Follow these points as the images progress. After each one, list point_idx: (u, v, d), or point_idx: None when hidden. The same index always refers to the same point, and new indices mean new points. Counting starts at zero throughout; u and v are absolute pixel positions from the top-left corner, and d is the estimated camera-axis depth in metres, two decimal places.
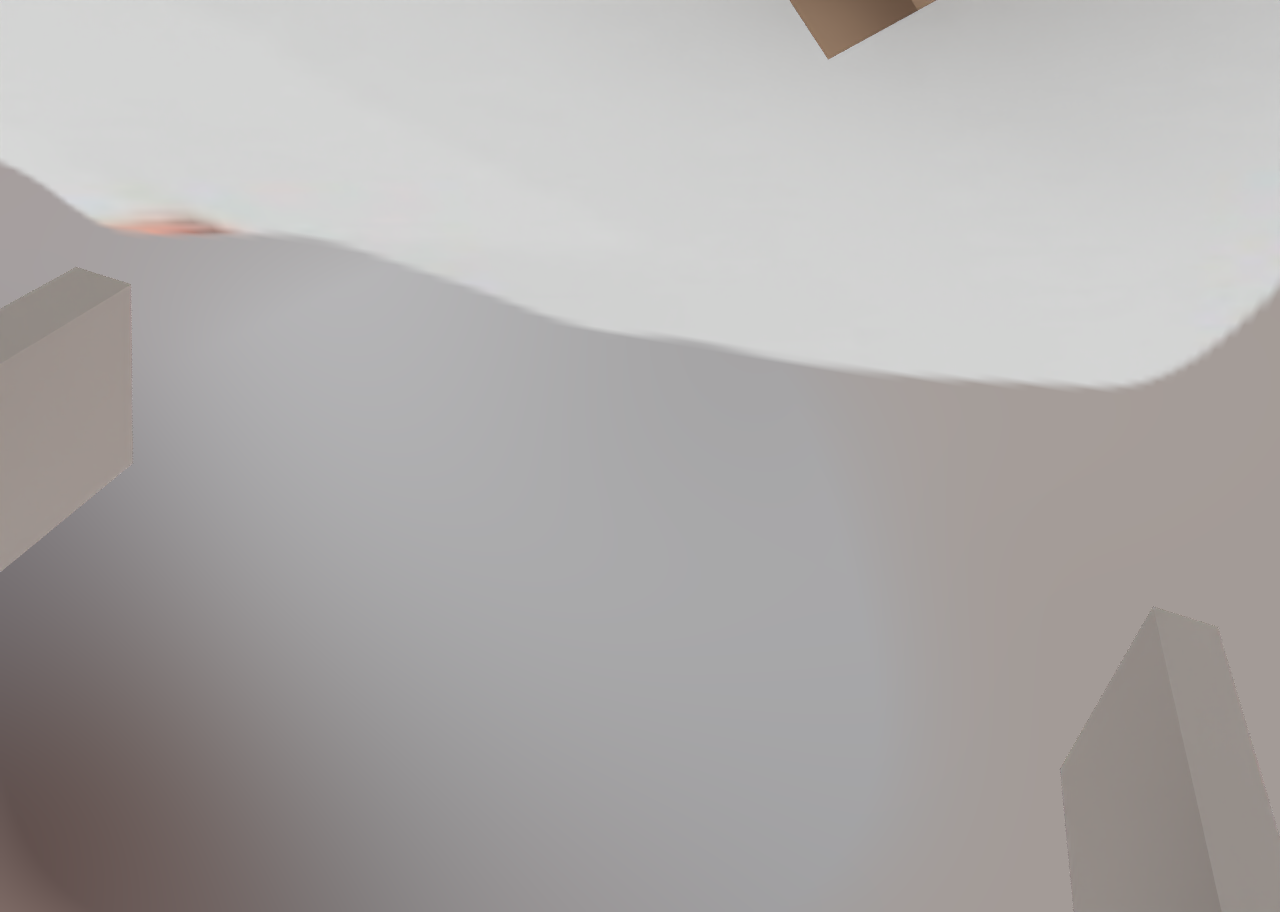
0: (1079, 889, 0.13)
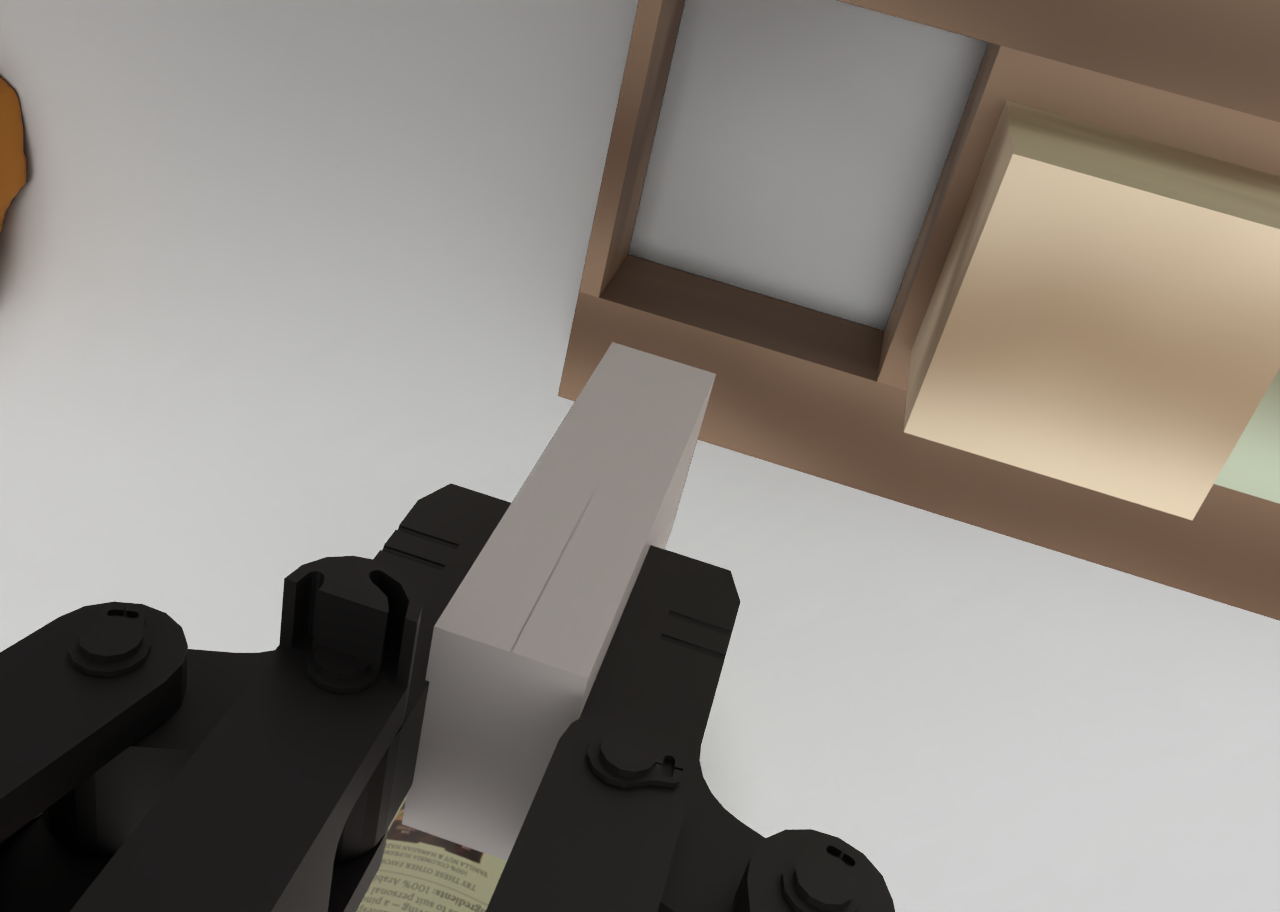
0: None
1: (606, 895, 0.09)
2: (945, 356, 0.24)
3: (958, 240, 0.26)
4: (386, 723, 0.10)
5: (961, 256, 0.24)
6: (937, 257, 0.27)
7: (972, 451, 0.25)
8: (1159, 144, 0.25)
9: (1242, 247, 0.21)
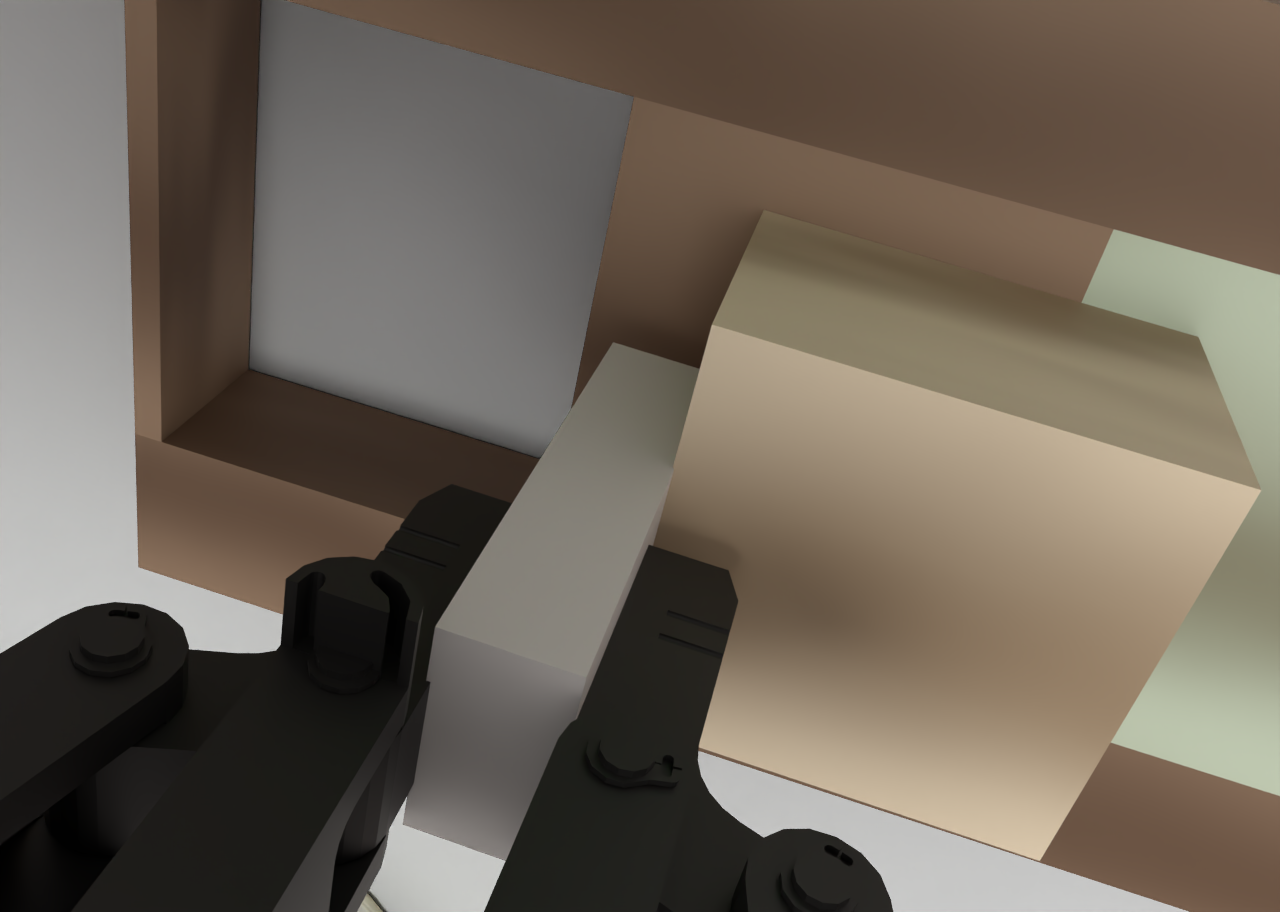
0: None
1: (605, 894, 0.09)
2: None
3: None
4: (387, 724, 0.10)
5: None
6: None
7: (707, 747, 0.16)
8: (991, 279, 0.16)
9: (1089, 481, 0.13)
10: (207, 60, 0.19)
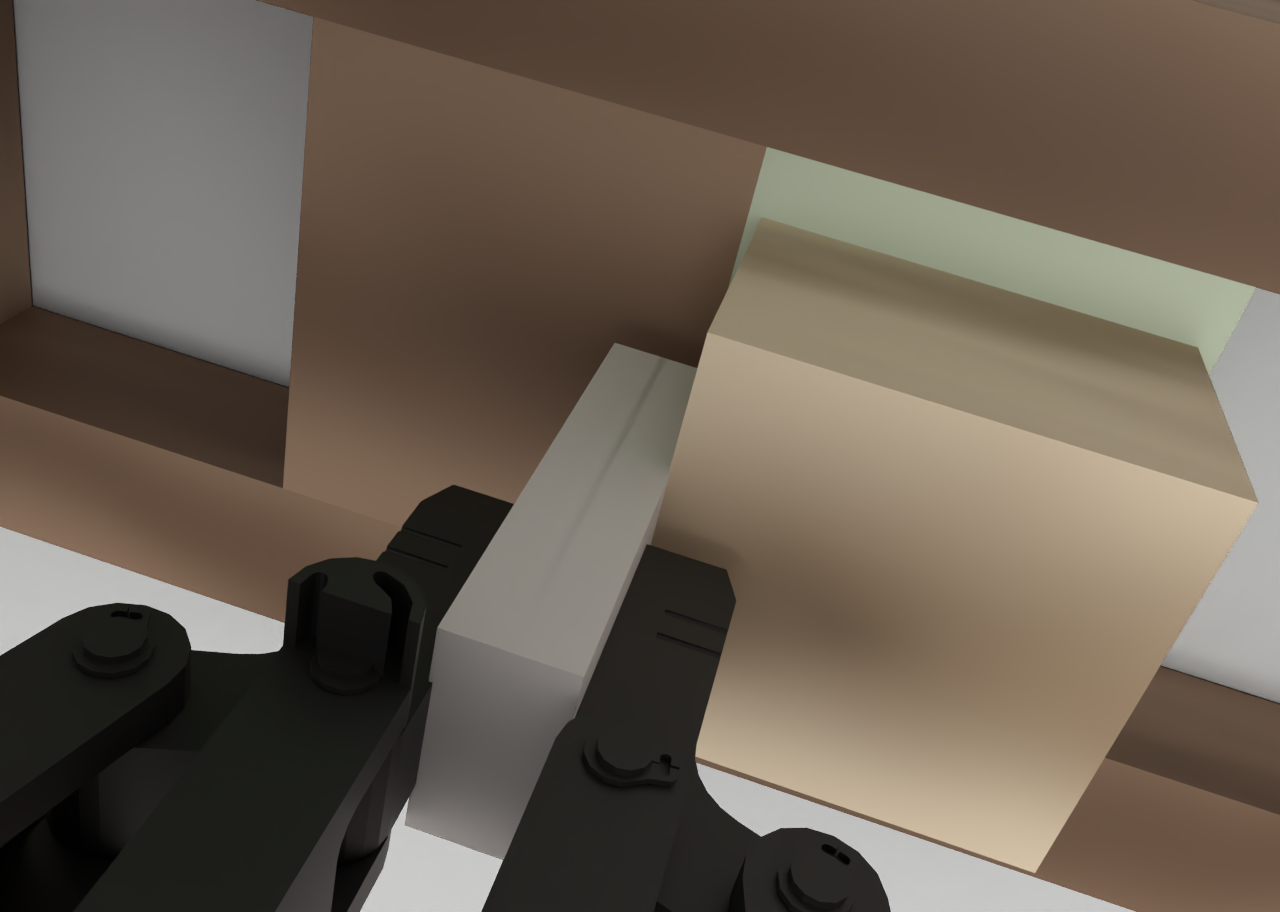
0: None
1: (602, 894, 0.09)
2: None
3: None
4: (389, 724, 0.10)
5: None
6: (311, 321, 0.19)
7: (701, 756, 0.16)
8: (990, 288, 0.16)
9: (1086, 492, 0.13)
10: None
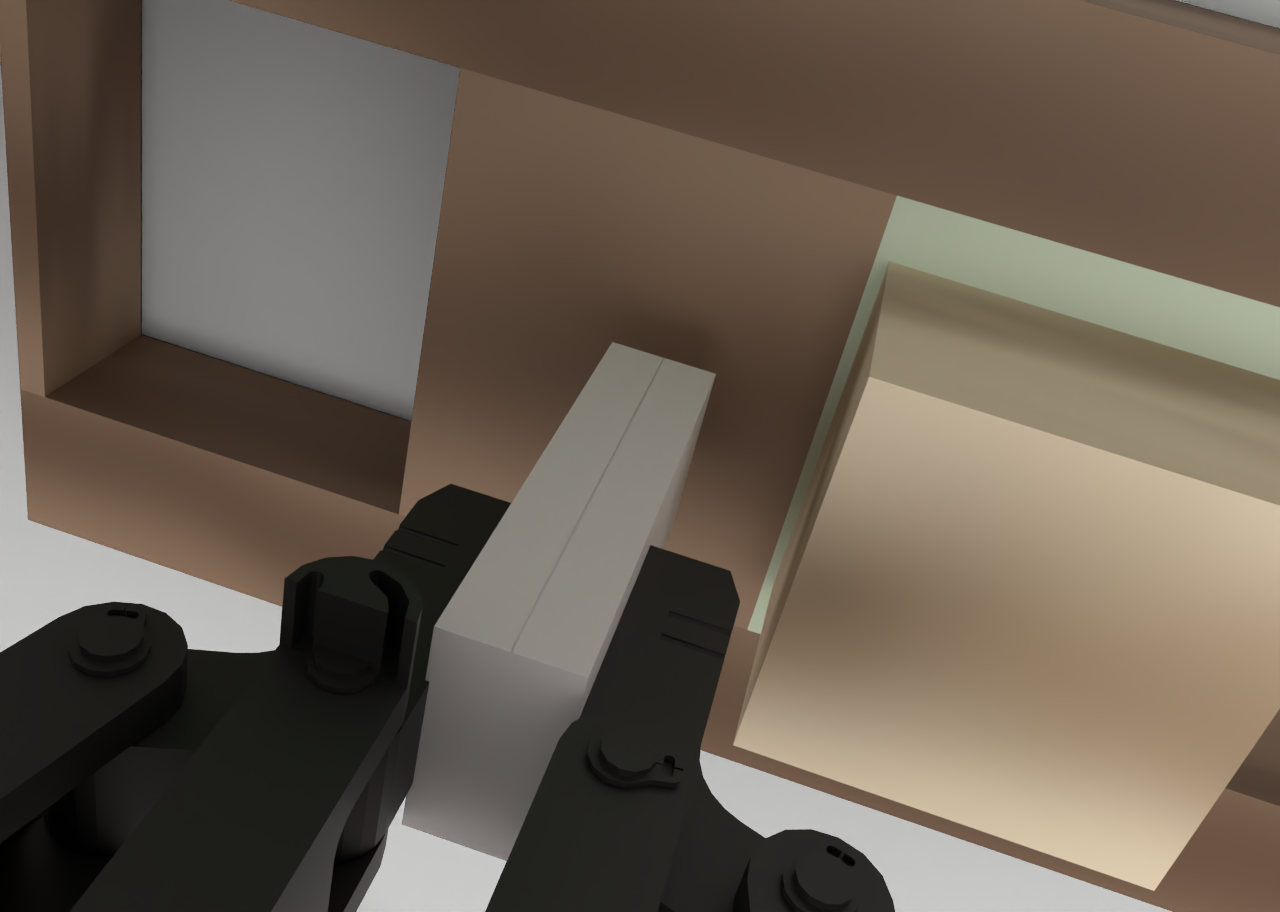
0: None
1: (606, 895, 0.09)
2: (786, 650, 0.16)
3: (823, 455, 0.18)
4: (386, 723, 0.10)
5: (816, 494, 0.17)
6: (439, 355, 0.20)
7: (832, 777, 0.17)
8: (1109, 330, 0.17)
9: (1227, 530, 0.14)
10: (83, 33, 0.20)
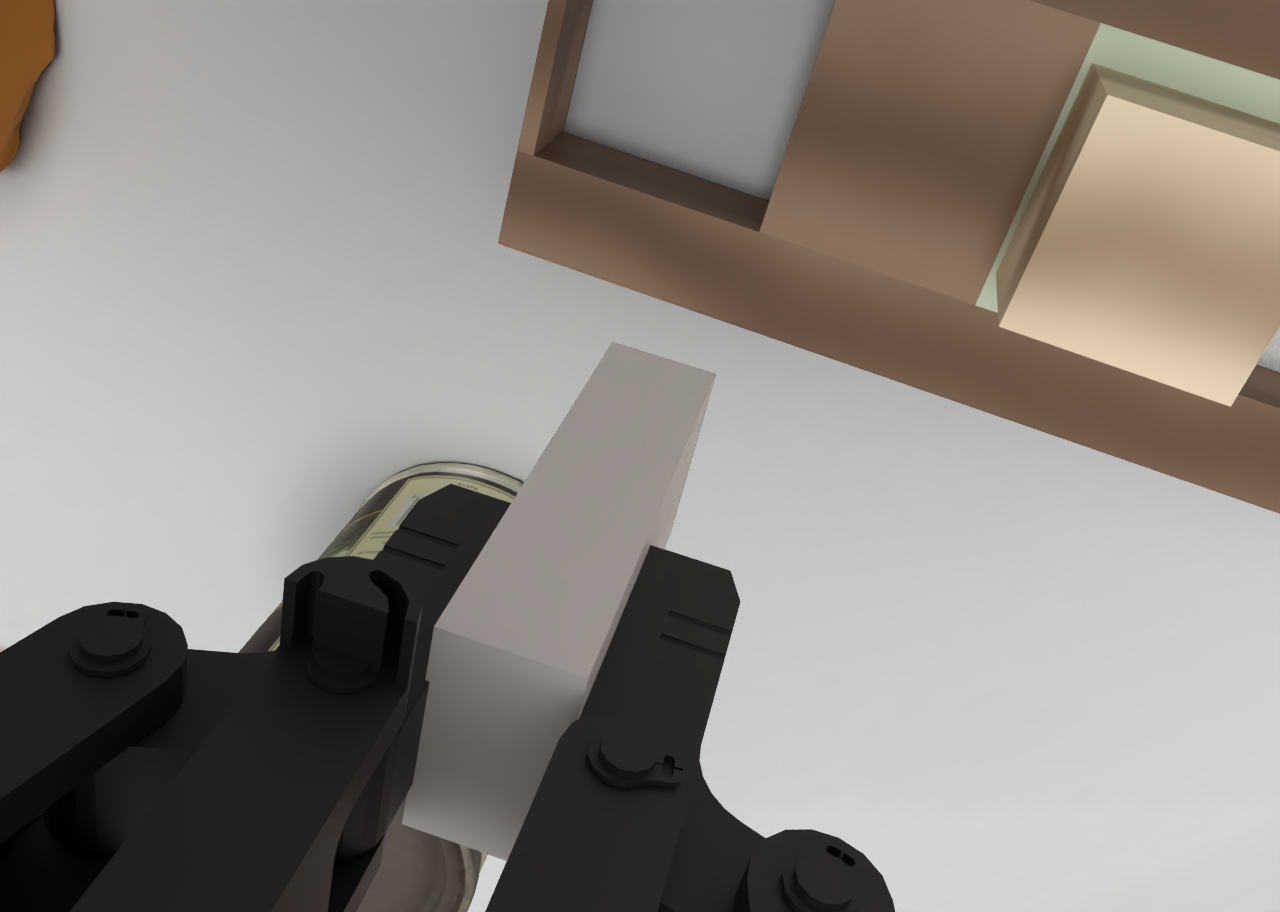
0: None
1: (605, 894, 0.09)
2: (1038, 262, 0.29)
3: (1046, 176, 0.31)
4: (386, 723, 0.10)
5: (1052, 184, 0.30)
6: (806, 123, 0.33)
7: (1054, 344, 0.30)
8: (1214, 103, 0.30)
9: None
10: None
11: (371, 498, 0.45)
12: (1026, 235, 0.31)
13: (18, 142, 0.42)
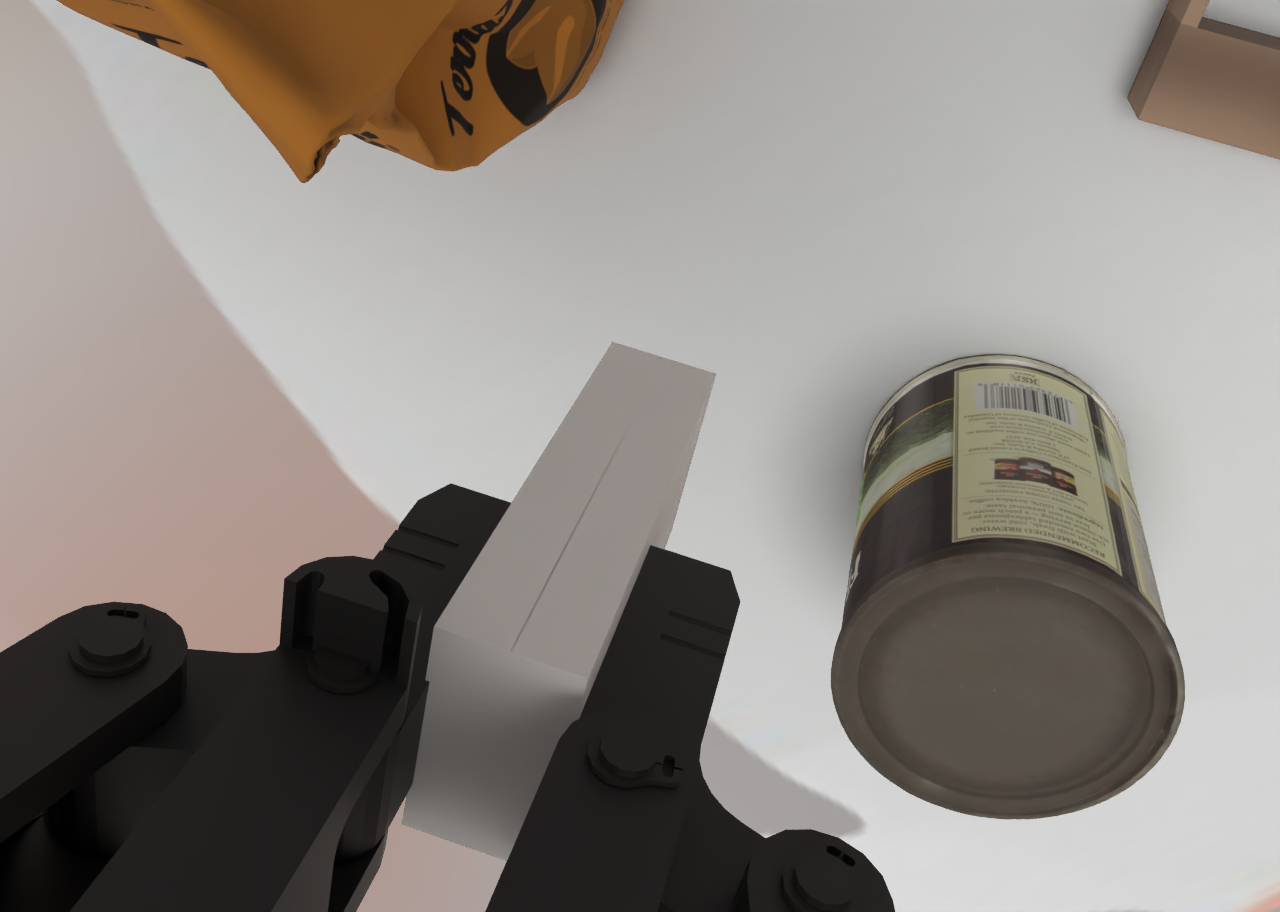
0: None
1: (606, 895, 0.09)
2: None
3: None
4: (386, 723, 0.10)
5: None
6: None
7: None
8: None
9: None
10: None
11: (912, 393, 0.46)
12: None
13: None
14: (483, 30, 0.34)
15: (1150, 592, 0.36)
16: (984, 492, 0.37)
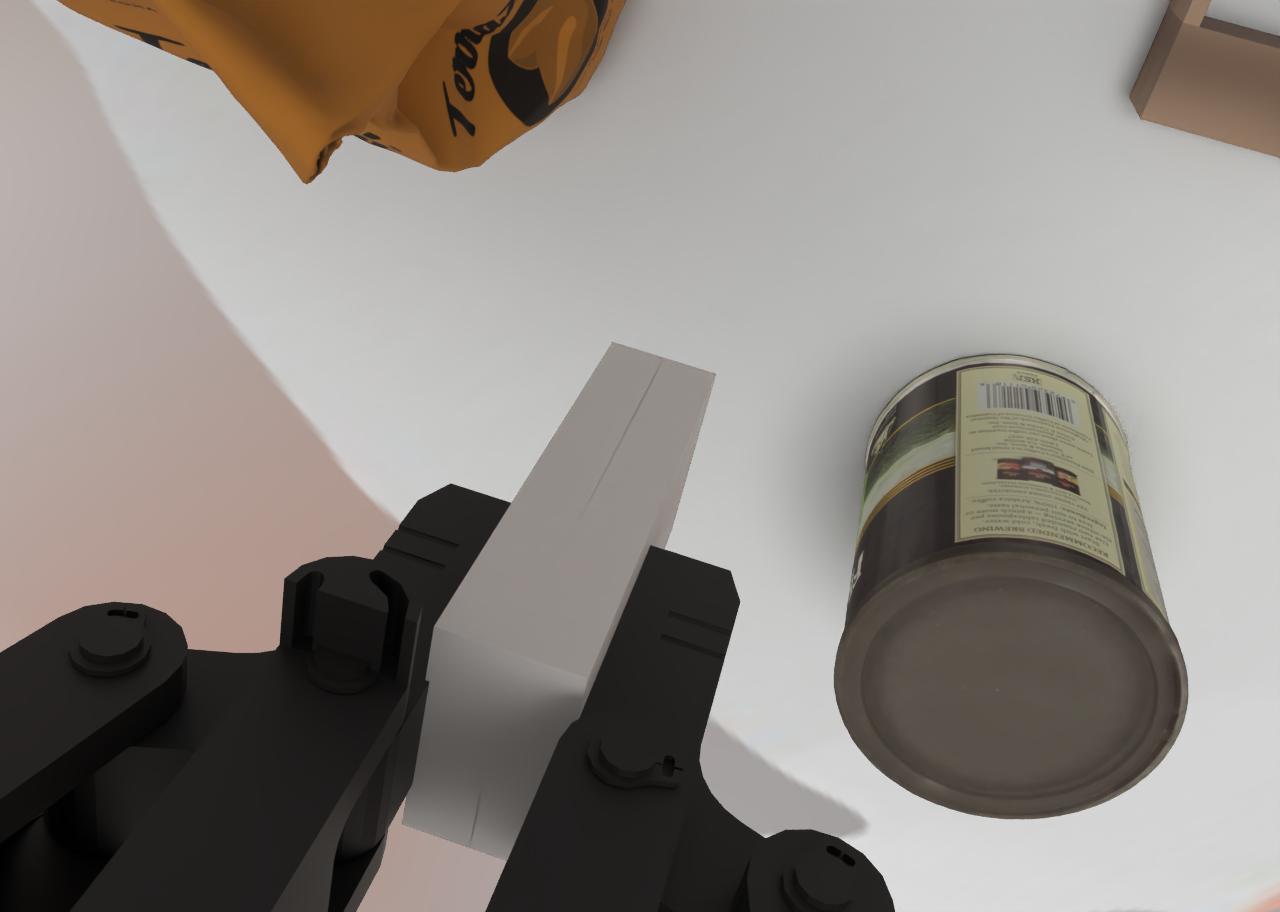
0: None
1: (606, 895, 0.09)
2: None
3: None
4: (386, 723, 0.10)
5: None
6: None
7: None
8: None
9: None
10: None
11: (914, 393, 0.46)
12: None
13: None
14: (485, 31, 0.34)
15: (1153, 592, 0.36)
16: (987, 492, 0.37)
